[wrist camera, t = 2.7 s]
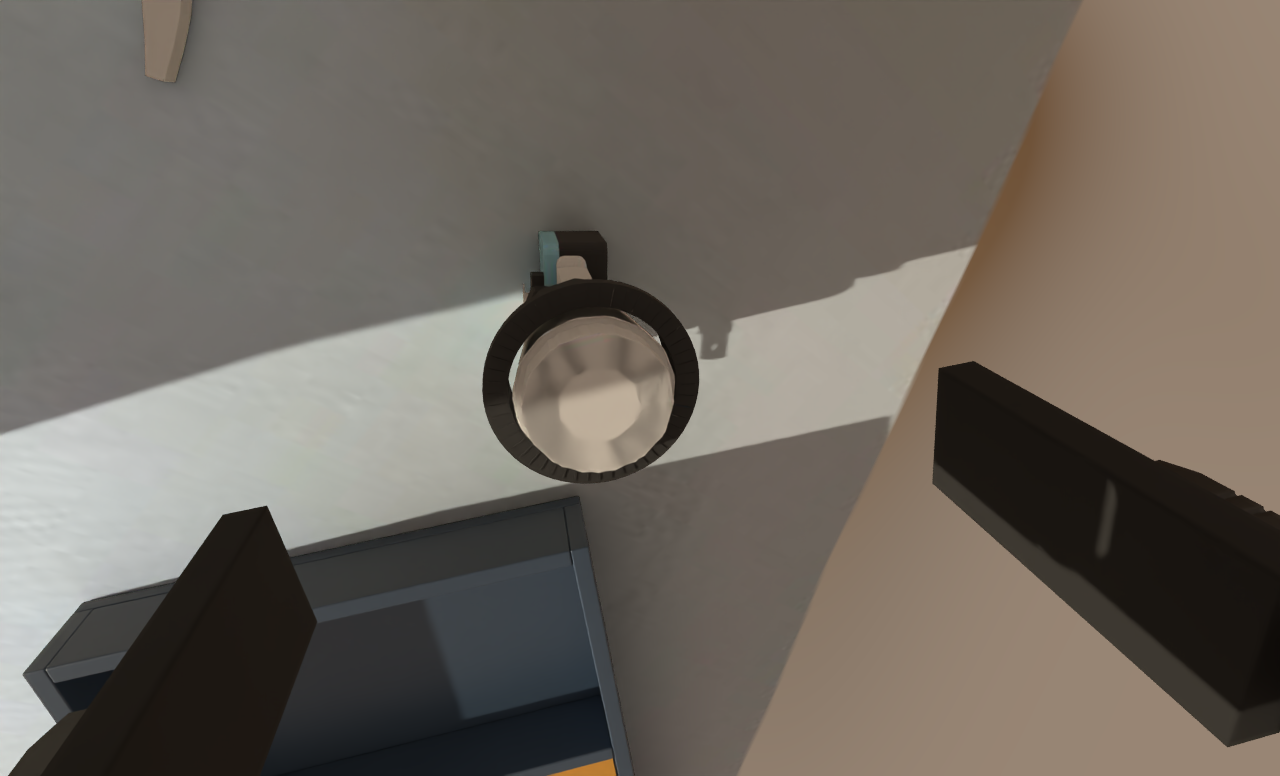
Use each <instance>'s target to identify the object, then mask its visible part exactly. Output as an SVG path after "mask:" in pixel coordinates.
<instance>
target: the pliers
mask: <svg viewBox="0 0 1280 776" xmlns="http://www.w3.org/2000/svg"><path fill="white" fill-rule="evenodd" d="M142 11H143V25H144V38H145V76H148V77H151V78H154V79H157V80H160V81H164V82H175V81H176V77H177V74H178V70H179V67H180V63H181V60H182V56H183V53H184V49H185V44H186V39H187V34H188V29H189V24H190V19H191V11H192V0H142Z"/></svg>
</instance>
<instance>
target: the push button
mask: <svg viewBox="0 0 1280 776" xmlns="http://www.w3.org/2000/svg"><path fill="white" fill-rule="evenodd" d="M538 237H539V251H540V272H531V273H530V280H531V291H530V292H529V293H526V291H525V284H523V304H522V305H521V306H519V307H518V308H517V309H516V310H515V311H514V312H513V313H512V314H511V315H510V316H509V317H508V318H507V320H506V321H505V322H504V323H503V325H502V326H501V328H500V329H499V330H498V332H497V334H496V336H495V337H494V339H493V341H492V343H491V346H490V348H489V351H488V353H487V357H486V361H485V365H484V372H483V389H482V392H483V402H484V407H485V412H486V415H487V418H488V421H489V423H490V425H491V428H492V430H493V432H494V433H495V435H496V437H497V438H498V440H499V441H500V443H501V444H502V445H503V446H504V448H505V449H506V450H507V451H508V452H509V453H510V454H511V455H512V456H513V457H514V458H515V459H517V460H518V461H519V462H520V463H522V464H523V465H525V466H526V467H528V468H529V469H531V470H533V471H535V472H537V473H539V474H541V475H544V476H546V477H549V478H552V479H556V480H560V481H565V482H571V483H600V482H606V481H611V480H616V479H619V478H622V477H625V476H628V475H630V474H633V473H635V472H637V471H639V470H641V469H643V468H645V467H646V466H648V465H649V464H651V463H653V462H654V461H655V460H657V459H658V458H659V457H660V456H662V455H663V454H664V453H665V452H666V451H667V450H668V449H669V448H670V447H671V446H672V445H673V444H674V443H675V442H676V440H677V439H678V438H679V436H680V435H681V433H682V432H683V431H684V429H685V427H686V425H687V424H688V422H689V420H690V417H691V415H692V413H693V410H694V407H695V404H696V400H697V395H698V387H699V368H698V361H697V357H696V353H695V349H694V347H693V344H692V341H691V339H690V337H689V335H688V333H687V332H686V330H685V329H684V327H683V326H682V324H681V323H680V321H679V320H678V319H677V318H676V316H675V315H674V314H673V313H672V312H671V311H670V310H669V309H668V308H667V307H666V306H665V305H664V304H663V303H662V302H660V301H659V300H658V299H656V298H655V297H654V296H652V295H650V294H649V293H647V292H645V291H643V290H641V289H639V288H637V287H634V286H632V285H629V284H625V283H622V282H617V281H612V280H607V244H606V242H605V240H604V239H603V238H602V236H601V235H600V233H599V232H598V231H539V233H538ZM625 312H627V313H630V314H632V315H634V316H636V317H638V318H640V319H641V320H643V321H644V322H646V323H647V324H648V325H650V326H651V327H652V328H653V329H654V330H655V331H656V332H657V333H658V335H659V338H660V341H661V345H662V346H661V345H660V344H659V343H658V342H657V341H656V340H655V339H654V338H653V337H652V336H651V335H650V334H649V333H648V332H647V331H646V330H644V329H643V328H641V326H640V325H639V324H637V323H636V322H635V321H634V320H633V319H632V318H631V317H629V316H628V315H627V314H626V313H625ZM523 343H524V345H523V349H522V353H521V357H520V360H519V366H518V369H517V374H516V378H515V382H514V386H513V392H512V390H511V388H510V385H509V380H508V378H509V373H510V369H511V366H512V363H513V360H514V358H515V356H516V354H517V352H518V350H519V349H520V347H521V346H522V344H523Z"/></svg>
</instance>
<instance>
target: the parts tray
mask: <svg viewBox="0 0 1280 776" xmlns="http://www.w3.org/2000/svg"><path fill="white" fill-rule="evenodd" d="M290 560H291V562H292V564H293V567H294V569H295V571H296V573H297V576H298V578H299V580H300V583H301V585H302V587H303V590H304V592H305V594H306V596H307V599H308V601H309V603H310V606H311V608H312V610H313V612H314V615H315V617H316V619H317V624H316V627H315V629H314V632H313V635H312V637H311V640H310V643H309V645H308V648H307V651H306V653H305V656H304V659H303V661H302V664H301V667H300V669H299V672H298V675H297V678H296V680H295V683H294V686H293V688H292V691H291V694H290V696H289V699H288V702H287V704H286V707H285V710H284V712H283V715H282V718H281V720H280V723H279V726H278V728H277V731H276V734H275V737H274V739H273V742H272V745H271V747H270V750H269V753H268V755H267V758H266V761H265V763H264V766H263V769H262V771H261V774H260V776H635V774H634V769H633V764H632V759H631V754H630V749H629V744H628V739H627V734H626V729H625V724H624V719H623V714H622V709H621V704H620V699H619V694H618V689H617V684H616V679H615V674H614V669H613V664H612V659H611V654H610V649H609V644H608V639H607V634H606V629H605V624H604V619H603V614H602V609H601V604H600V599H599V594H598V589H597V584H596V579H595V574H594V569H593V564H592V559H591V554H590V549H589V544H588V539H587V534H586V529H585V524H584V519H583V514H582V509H581V504H580V499H579V496H575V497H571V498H566V499H562V500H557V501H552V502H548V503H543V504H538V505H534V506H529V507H524V508H520V509H515V510H510V511H506V512H501V513H497V514H492V515H487V516H483V517H478V518H473V519H469V520H464V521H459V522H455V523H450V524H445V525H441V526H436V527H432V528H427V529H422V530H418V531H413V532H408V533H404V534H399V535H394V536H390V537H385V538H380V539H376V540H371V541H367V542H362V543H357V544H353V545H348V546H343V547H339V548H334V549H329V550H325V551H320V552H315V553H311V554H306V555H302V556H297V557H292V558H290ZM174 584H175V583H172V584H167V585H162V586H158V587H153V588H148V589H144V590H139V591H134V592H130V593H125V594H120V595H116V596H111V597H107V598H102V599H97V600H93V601H88V602H84V603H82V604H81V605H80V606H79V608H78V609H77V610H76V611H75V613H74V614H73V615H72V616H71V617H70V618H69V619H68V621H67V622H66V623H65V624H64V625H63V626H62V628H61V629H60V630H59V631H58V632H57V634H56V635H55V636H54V637H53V638H52V640H51V641H50V642H49V643H48V644H47V646H46V647H45V648H44V649H43V650H42V651H41V653H40V654H39V655H38V656H37V657H36V659H35V660H34V661H33V662H32V663H31V665H30V666H29V667H28V668H27V669H26V670H25V672H24V673H23V676H24V678H25V679H26V680H27V682H28V683H29V685H30V686H31V688H32V689H33V690H34V692H35V693H36V695H37V696H38V698H39V699H40V700H41V702H42V703H43V705H44V706H45V707H46V709H47V710H48V712H49V713H50V715H51V716H52V717H53V719H54V720H55V722H56V723H58V722H59V721H60V720H61V719H62V718H63V717H65V716H66V715H67V714H68V713H71V712H75V711H80V710H84V709H87V708H88V707H89V705H90V704H91V702H92V701H93V700H94V698H95V697H96V695H97V694H98V692H99V691H100V690H101V688H102V687H103V685H104V684H105V682H106V681H107V680H108V678H109V677H110V675H111V674H112V672H113V671H114V670H115V668H116V667H117V665H118V664H119V662H120V661H121V660H122V658H123V657H124V655H125V654H126V652H127V651H128V650H129V648H130V647H131V645H132V644H133V642H134V641H135V640H136V638H137V637H138V635H139V634H140V632H141V631H142V630H143V628H144V627H145V625H146V624H147V622H148V621H149V620H150V618H151V617H152V615H153V614H154V612H155V611H156V610H157V608H158V607H159V605H160V604H161V602H162V601H163V600H164V598H165V597H166V595H167V594H168V592H169V591H170V590H171V588H172V587H173V585H174Z"/></svg>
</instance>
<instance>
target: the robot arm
mask: <svg viewBox="0 0 1280 776" xmlns="http://www.w3.org/2000/svg"><path fill="white" fill-rule="evenodd" d="M935 429H936V430H935V446H934V448H935V449H934V465H933V484H934V485H935V486H936V487H937V488H938V489H939V490H941V491H942V492H943V493H944V494H945V495H946V496H947V497H948V498H950V499H951V500H952V501H953V502H954V503H955V504H956V505H957V506H958V507H960V508H961V509H962V510H963V511H964V512H965V513H966V514H967V515H968V516H970V517H971V518H972V519H973V520H974V521H975V522H976V523H978V524H979V525H980V526H981V527H982V528H983V529H984V530H985V531H986V532H987V533H989V534H990V535H991V536H992V537H993V538H994V539H995V540H996V541H998V542H999V543H1000V544H1001V545H1002V546H1003V547H1004V548H1005V549H1007V550H1008V551H1009V552H1010V553H1011V554H1012V555H1013V556H1014V557H1015V558H1017V559H1018V560H1019V561H1020V562H1021V563H1022V564H1023V565H1024V566H1025V567H1027V568H1028V569H1029V570H1030V571H1031V572H1032V573H1033V574H1034V575H1036V576H1037V577H1038V578H1039V579H1040V580H1041V581H1042V582H1043V583H1045V584H1046V585H1047V586H1048V587H1049V588H1050V589H1051V590H1053V592H1055V593H1056V594H1057V595H1058V596H1059V597H1060V598H1061V599H1062V600H1063V601H1065V602H1066V603H1067V604H1068V605H1069V606H1070V607H1071V608H1073V609H1074V610H1075V611H1076V612H1077V613H1078V614H1079V615H1080V616H1081V617H1082V618H1084V619H1085V620H1086V621H1087V622H1088V623H1089V624H1090V625H1091V626H1093V627H1094V628H1095V629H1096V630H1097V631H1098V632H1099V633H1100V634H1102V635H1103V636H1104V637H1105V638H1106V639H1107V640H1108V641H1109V642H1111V643H1112V644H1113V645H1114V646H1115V647H1116V648H1117V649H1118V650H1120V651H1121V652H1122V653H1123V654H1124V655H1125V656H1126V657H1127V658H1128V659H1129V660H1131V661H1132V662H1133V663H1134V664H1135V665H1136V666H1137V667H1138V668H1139V669H1141V670H1142V671H1143V672H1144V673H1145V674H1146V675H1147V676H1148V677H1150V678H1151V679H1152V680H1153V681H1154V682H1155V683H1156V684H1157V685H1158V686H1160V687H1161V688H1162V689H1163V690H1164V691H1165V692H1166V693H1167V694H1169V695H1170V696H1171V697H1172V698H1173V699H1174V700H1175V701H1176V702H1178V703H1179V704H1180V705H1181V706H1182V707H1183V708H1184V709H1185V710H1186V711H1188V712H1189V713H1190V714H1191V715H1192V716H1193V717H1194V718H1195V719H1197V720H1198V721H1199V722H1200V723H1201V724H1202V725H1203V726H1204V727H1205V728H1207V729H1208V730H1209V731H1210V732H1211V733H1212V734H1213V735H1214V736H1216V737H1217V738H1218V739H1219V740H1220V741H1221V742H1222V743H1223V744H1224V745H1226V746H1227V747H1230V746H1234V745H1237V744H1241V743H1244V742H1247V741H1251V740H1255V739H1258V738H1262V737H1265V736H1268V735H1272V734H1276V733H1279V732H1280V515H1278V514H1276V513H1274V512H1273V511H1267V512H1266V511H1265V510H1264V508H1263V506H1261V505H1259V504H1258V503H1256V502H1254V501H1252V500H1250V499H1248V498H1246V497H1244V496H1243V495H1240V496H1237V495H1236V494H1235V491H1233V490H1231V489H1229V488H1227V487H1226V486H1223V485H1222V484H1220V483H1218V482H1216V481H1214V480H1212V479H1210V478H1208V477H1207V476H1205V475H1203V474H1201V473H1199V472H1195V471H1192V470H1189V469H1186V468H1183V467H1180V466H1177V465H1174V464H1171V463H1168V462H1165V461H1161V460H1158V461H1154V460H1152V459H1150V458H1148V457H1146V456H1145V455H1142V454H1141V453H1139V452H1137V451H1135V450H1134V449H1132V448H1130V447H1128V446H1126V445H1124V444H1123V443H1121V442H1119V441H1117V440H1115V439H1114V438H1112V437H1110V436H1108V435H1107V434H1105V433H1103V432H1101V431H1099V430H1097V429H1096V428H1094V427H1092V426H1090V425H1088V424H1087V423H1085V422H1083V421H1081V420H1079V419H1078V418H1076V417H1074V416H1072V415H1070V414H1068V413H1066V412H1065V411H1063V410H1061V409H1059V408H1058V407H1056V406H1054V405H1052V404H1050V403H1049V402H1047V401H1045V400H1043V399H1041V398H1039V397H1038V396H1036V395H1034V394H1032V393H1030V392H1029V391H1027V390H1025V389H1023V388H1021V387H1020V386H1018V385H1016V384H1014V383H1012V382H1010V381H1009V380H1007V379H1005V378H1003V377H1001V376H1000V375H998V374H996V373H994V372H992V371H991V370H989V369H987V368H985V367H983V366H981V365H979V364H978V363H976V362H974V361H972V362H967V363H962V364H957V365H952V366H947V367H943V368H939V373H938V392H937V411H936V428H935ZM316 624H317V619H316V617H315V615H314V612H313V610H312V608H311V606H310V603H309V601H308V599H307V596H306V594H305V592H304V590H303V587H302V585H301V583H300V580H299V578H298V576H297V573H296V571H295V569H294V567H293V564H292V562H291V560H290V557H289V555H288V553H287V550H286V548H285V546H284V544H283V541H282V539H281V537H280V534H279V532H278V530H277V527H276V525H275V523H274V521H273V518H272V516H271V514H270V511H269V509H268V507H267V506H263V507H258V508H253V509H249V510H244V511H239V512H234V513H229V514H224V515H222V517H221V518H220V520H219V521H218V522H217V524H216V525H215V527H214V528H213V530H212V531H211V532H210V534H209V535H208V537H207V538H206V540H205V541H204V542H203V544H202V545H201V547H200V548H199V550H198V551H197V552H196V554H195V555H194V557H193V558H192V560H191V561H190V562H189V564H188V565H187V567H186V568H185V570H184V571H183V572H182V574H181V575H180V577H179V578H178V580H177V581H176V582H175V584H174V585H173V587H172V588H171V590H170V591H169V592H168V594H167V595H166V597H165V598H164V600H163V601H162V602H161V604H160V605H159V607H158V608H157V610H156V611H155V612H154V614H153V615H152V617H151V618H150V620H149V621H148V622H147V624H146V625H145V627H144V628H143V630H142V631H141V632H140V634H139V635H138V637H137V638H136V640H135V641H134V642H133V644H132V645H131V647H130V648H129V650H128V651H127V652H126V654H125V655H124V657H123V658H122V660H121V661H120V662H119V664H118V665H117V667H116V668H115V670H114V671H113V672H112V674H111V675H110V677H109V678H108V680H107V681H106V682H105V684H104V685H103V687H102V688H101V690H100V691H99V692H98V694H97V695H96V697H95V698H94V700H93V701H92V702H91V704H90V705H89V707H88V708H87V709H84V710H80V711H75V712H71V713H68V714H67V715H66V716H65V717H63V718H62V719H61V720H60V721H59V722H58V723H57V724H56V725H55V726H53V727H52V728H51V729H50V730H49V731H48V732H47V733H46V734H45V735H43V736H42V737H41V738H40V739H39V740H38V741H37V742H36V743H35V744H33V745H32V746H31V747H30V748H29V749H28V750H27V751H26V753H25V754H24V755H23V757H22V758H21V759H20V761H19V762H18V763H17V765H16V766H15V767H14V769H13V770H12V771H11V773H10V774H9V775H8V776H260V774H261V771H262V769H263V766H264V763H265V761H266V758H267V755H268V753H269V750H270V747H271V745H272V742H273V739H274V737H275V734H276V731H277V728H278V726H279V723H280V720H281V718H282V715H283V712H284V710H285V707H286V704H287V702H288V699H289V696H290V694H291V691H292V688H293V686H294V683H295V680H296V678H297V675H298V672H299V669H300V667H301V664H302V661H303V659H304V656H305V653H306V651H307V648H308V645H309V643H310V640H311V637H312V635H313V632H314V629H315V627H316Z"/></svg>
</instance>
